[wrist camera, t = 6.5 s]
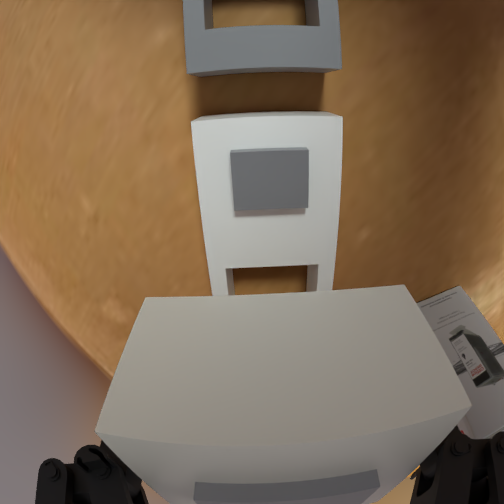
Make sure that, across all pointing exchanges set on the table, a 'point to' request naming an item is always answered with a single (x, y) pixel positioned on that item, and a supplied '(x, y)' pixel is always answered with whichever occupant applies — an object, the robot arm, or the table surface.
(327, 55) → the plug rest
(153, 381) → the plug
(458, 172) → the table surface
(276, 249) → the socket
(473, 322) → the ink box
